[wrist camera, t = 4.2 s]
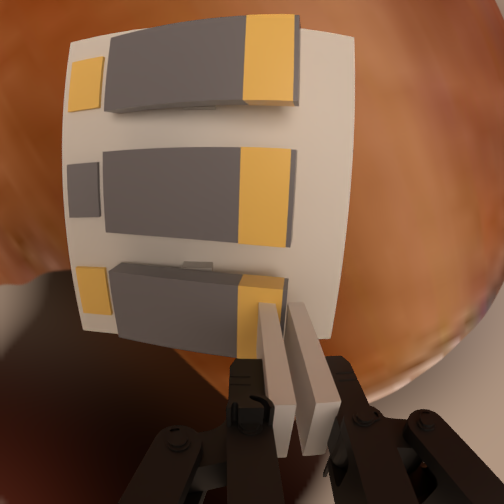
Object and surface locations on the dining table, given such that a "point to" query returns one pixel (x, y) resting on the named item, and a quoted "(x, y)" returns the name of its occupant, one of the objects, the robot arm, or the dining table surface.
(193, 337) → the rocker
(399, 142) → the dining table surface
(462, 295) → the dining table surface
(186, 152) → the rocker
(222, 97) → the rocker
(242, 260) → the switch unit
